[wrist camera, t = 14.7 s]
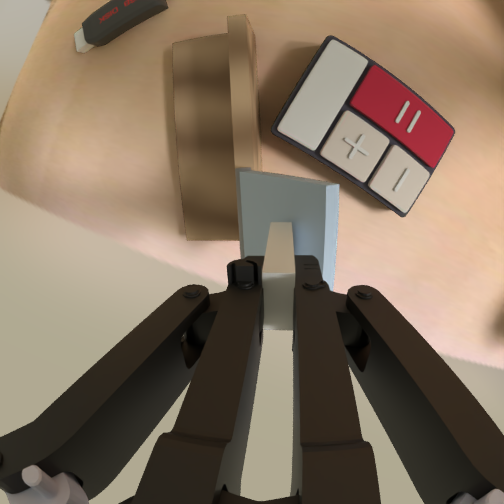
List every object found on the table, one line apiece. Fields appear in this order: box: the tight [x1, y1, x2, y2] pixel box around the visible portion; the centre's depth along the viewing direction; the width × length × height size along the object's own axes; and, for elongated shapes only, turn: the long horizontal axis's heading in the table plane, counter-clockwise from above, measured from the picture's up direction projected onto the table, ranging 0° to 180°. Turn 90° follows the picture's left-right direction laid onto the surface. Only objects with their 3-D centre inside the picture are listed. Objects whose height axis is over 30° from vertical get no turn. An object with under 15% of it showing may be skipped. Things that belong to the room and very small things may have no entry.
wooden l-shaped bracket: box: [173, 14, 262, 241], centre depth 23 cm, size 21×8×6 cm, turn 3°
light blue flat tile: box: [235, 167, 339, 291], centre depth 19 cm, size 8×10×1 cm
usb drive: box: [74, 0, 168, 53], centre depth 20 cm, size 5×12×3 cm, turn 108°
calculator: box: [271, 35, 455, 217], centre depth 22 cm, size 11×4×15 cm
